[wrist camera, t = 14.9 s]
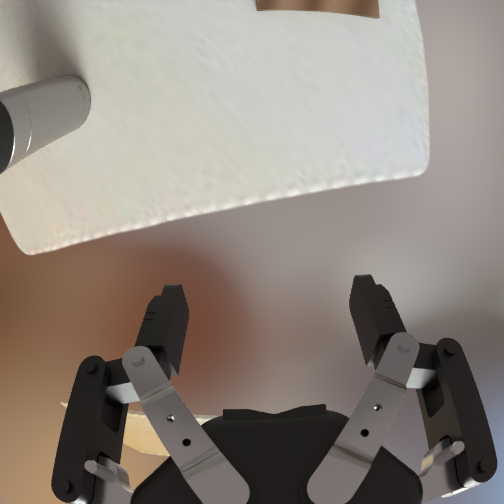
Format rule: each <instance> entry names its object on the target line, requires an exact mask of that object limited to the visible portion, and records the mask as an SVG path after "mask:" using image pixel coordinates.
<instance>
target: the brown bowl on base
mask: <svg viewBox="0 0 504 504" xmlns="http://www.w3.org/2000/svg"><path fill="white" fill-rule="evenodd" d="M256 3H257V11H267V10H297V11H319V12H331V13H341V14H350V15H357V16H364V17H370V18H376V19H377V18H380V17H379V4H378V0H256Z"/></svg>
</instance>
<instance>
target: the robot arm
mask: <svg viewBox="0 0 504 504" xmlns="http://www.w3.org/2000/svg"><path fill="white" fill-rule="evenodd" d="M90 103H91V101H90V94H89V90H88V88H87V86H86V84H85V83H84V82H83V81H82V80H81V79H79V78H78V77H75V76H63V77H58V78H52V79H47V80H43V81H38V82H34V83H30V84H26V85H22V86H19V87H15V88H12V89H8V90H5V91H2V92H0V174H1V173H2V172H4V171H5V170H7V169H8V168H10V167H11V166H13V165H15V164H16V163H18V162H19V161H21V160H22V159H24V158H25V157H27V156H29V155H30V154H32V153H34V152H35V151H37V150H39V149H40V148H42V147H44V146H46V145H48V144H49V143H51V142H53V141H55V140H57V139H59V138H61V137H62V136H64V135H66V134H68V133H70V132H72V131H74V130H76V129H78V128H79V127H80V126H81V125H82V124H83V123H84V121H85V120H86V118H87V116H88V114H89V110H90ZM349 307H350V312H351V316H352V319H353V322H354V325H355V329H356V332H357V335H358V339H359V342H360V346H361V349H362V353H363V356H364V360H365V364H366V367H369V366H374V367H375V373H374V375H373V377H372V379H371V381H370V383H369V385H368V386H367V388H366V390H365V392H364V394H363V396H362V398H361V399H360V401H359V403H358V405H357V407H356V408H355V410H354V412H353V414H352V415H351V417H350V418H348V417H347V416H345V415H343V414H340V413H338V412H334V411H329V410H326V405H325V404H320V405H311V406H301V407H298V408H294V409H291V410H288V411H285V412H281V413H278V414H270V413H265V412H259V411H254V410H250V409H223V416H219V417H216V418H213V419H211V420H209V421H207V422H205V423H204V424H202V425H201V426H200V424H199V423H198V422H197V420H196V419H195V418H194V416H193V415H192V413H191V412H190V411H189V409H188V408H187V406H186V405H185V403H184V402H183V400H182V399H181V397H180V396H179V395H178V393H177V391H176V390H175V388H174V387H173V385H172V384H171V383H170V376H178V373H179V369H180V363H181V358H182V352H183V346H184V341H185V336H186V331H187V326H188V320H189V308H188V305H187V302H186V298H185V294H184V291H183V288H182V285H181V284H169V285H165V286H164V288H163V291H162V294H161V296H155V297H154V298H153V299H152V300H151V301H150V302H149V304H148V307H147V310H146V314H145V316H144V321H143V322H142V325H141V328H140V331H139V334H138V337H137V341H136V344H135V346H134V347H133V348H131V349H129V350H128V351H127V352H126V353H125V354H124V356H123V358H120V359H116V360H112V361H107V362H105V361H104V360H103V359H102V358H101V357H99V356H90V357H87V358H86V359H84V361H82V363H81V365H80V366H79V369H78V372H77V375H76V378H75V382H74V385H73V388H72V392H71V396H70V399H69V402H68V406H67V410H66V414H65V418H64V422H63V426H62V430H61V435H60V439H59V443H58V448H57V453H56V458H55V464H54V469H53V475H52V482H51V486H52V490H53V492H54V494H55V496H56V497H57V498H58V499H59V500H61V501H63V502H65V503H68V504H421V503H423V502H426V501H429V500H432V499H435V498H438V497H449V496H452V495H455V494H458V493H460V492H463V491H465V490H468V489H470V488H473V487H475V486H477V485H480V484H482V483H484V482H486V481H488V480H489V479H490V478H491V477H492V476H493V475H494V474H495V471H496V469H497V457H496V452H495V448H494V444H493V440H492V436H491V432H490V428H489V425H488V421H487V418H486V414H485V411H484V407H483V404H482V401H481V398H480V395H479V392H478V389H477V386H476V383H475V381H474V378H473V375H472V372H471V370H470V367H469V365H468V362H467V360H466V357H465V355H464V352H463V350H462V348H461V346H460V344H459V343H458V342H457V341H455V340H454V339H451V338H443V339H441V340H440V341H439V342H438V343H437V345H431V344H423V343H419V342H418V341H417V339H416V338H415V337H414V336H413V335H411V334H409V333H407V332H406V329H405V327H404V325H403V322H402V320H401V318H400V315H399V313H398V311H397V309H396V308H395V304H394V302H393V301H392V298H391V296H390V293H389V291H388V290H387V289H386V288H385V287H383V286H382V285H381V284H379V285H376V284H375V282H374V280H373V278H372V276H371V275H370V274H367V275H355V277H354V280H353V285H352V290H351V294H350V300H349ZM407 387H409V388H416V392H417V396H418V400H419V404H420V408H421V412H422V416H423V421H424V426H425V430H426V435H427V441H428V446H429V450H428V451H427V452H426V453H425V455H424V456H423V459H422V469H421V472H420V474H419V476H418V475H417V474H416V473H415V472H414V471H413V470H411V469H410V468H408V467H407V466H406V465H405V464H404V463H402V462H401V461H400V460H399V459H398V458H396V457H395V456H394V455H392V454H391V453H390V452H389V451H388V450H387V449H385V448H384V447H383V446H382V442H383V441H384V439H385V437H386V435H387V433H388V430H389V429H390V426H391V424H392V422H393V420H394V418H395V416H396V413H397V411H398V409H399V407H400V405H401V402H402V400H403V398H404V395H405V393H406V390H407ZM134 401H139V402H140V404H141V406H142V409H143V410H144V412H145V414H146V416H147V418H148V419H149V421H150V423H151V425H152V426H153V428H154V430H155V432H156V433H157V435H158V437H159V438H160V440H161V441H162V443H163V445H164V446H165V448H166V449H167V451H168V453H169V454H170V456H169V457H168V458H167V460H166V461H164V462H163V463H162V464H161V465H160V466H159V467H158V468H157V469H156V470H155V471H154V472H153V473H152V474H151V475H149V476H148V477H147V478H146V479H145V480H144V481H143V482H142V483H141V484H140V485H139V486H138V487H137V488H136V489H135V490H134V491H133V490H132V489H131V487H130V484H129V476H128V473H127V471H126V470H125V469H124V468H123V467H122V466H120V458H121V451H122V444H123V437H124V430H125V423H126V417H127V411H128V405H129V403H130V402H134Z"/></svg>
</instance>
